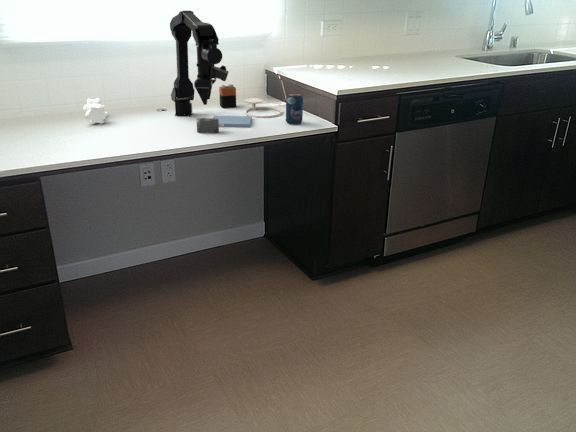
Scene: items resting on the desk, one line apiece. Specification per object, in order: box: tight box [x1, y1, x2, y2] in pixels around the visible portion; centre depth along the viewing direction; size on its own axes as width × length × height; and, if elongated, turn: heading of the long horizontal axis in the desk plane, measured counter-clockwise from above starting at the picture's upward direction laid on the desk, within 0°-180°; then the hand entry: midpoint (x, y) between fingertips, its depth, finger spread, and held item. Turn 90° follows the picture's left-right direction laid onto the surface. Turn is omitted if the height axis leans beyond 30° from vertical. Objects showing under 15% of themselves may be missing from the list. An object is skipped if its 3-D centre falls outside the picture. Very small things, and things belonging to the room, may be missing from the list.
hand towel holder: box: [244, 97, 283, 119], centre depth 243 cm, size 17×4×20 cm
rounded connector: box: [195, 117, 225, 134], centre depth 213 cm, size 11×4×5 cm, turn 90°
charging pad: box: [212, 115, 253, 128], centre depth 227 cm, size 16×13×1 cm
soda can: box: [285, 92, 304, 126], centre depth 226 cm, size 7×7×12 cm
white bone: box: [83, 97, 109, 125], centre depth 226 cm, size 15×9×8 cm, turn 22°
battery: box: [218, 84, 237, 109], centre depth 249 cm, size 4×7×10 cm, turn 112°
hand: (206, 101), depth 209 cm, fingers open, 9 cm apart
